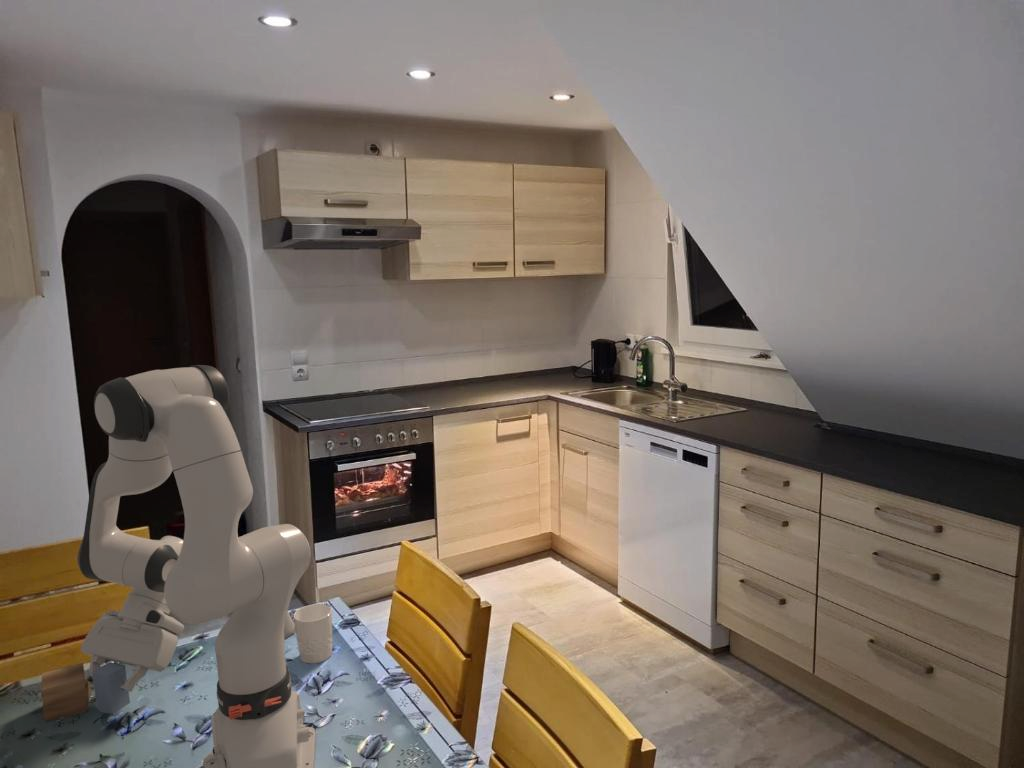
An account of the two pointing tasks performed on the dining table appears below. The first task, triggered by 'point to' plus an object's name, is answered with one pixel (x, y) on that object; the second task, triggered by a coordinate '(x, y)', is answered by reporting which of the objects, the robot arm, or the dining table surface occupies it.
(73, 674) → the tower top
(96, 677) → the pillar
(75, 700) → the tower base
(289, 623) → the flask
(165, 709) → the dining table surface
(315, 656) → the white cup
